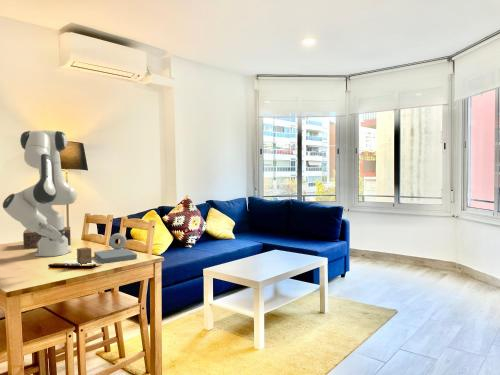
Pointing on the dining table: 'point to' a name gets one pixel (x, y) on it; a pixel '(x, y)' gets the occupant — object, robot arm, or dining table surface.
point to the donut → (117, 236)
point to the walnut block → (84, 255)
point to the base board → (115, 255)
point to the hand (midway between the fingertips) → (58, 240)
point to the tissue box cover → (33, 238)
